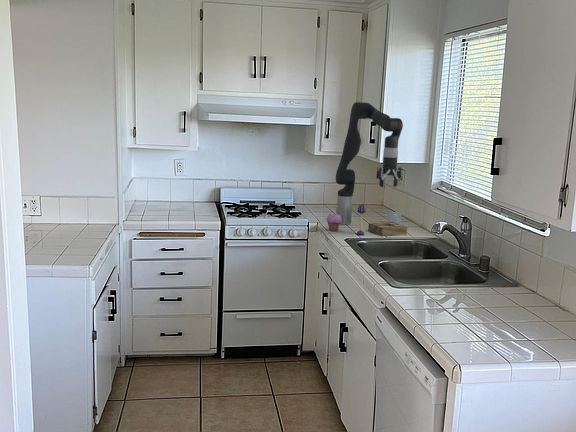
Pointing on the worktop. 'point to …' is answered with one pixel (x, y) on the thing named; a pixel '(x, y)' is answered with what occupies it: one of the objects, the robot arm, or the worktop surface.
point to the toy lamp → (361, 210)
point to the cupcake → (334, 221)
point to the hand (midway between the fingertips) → (388, 186)
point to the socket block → (387, 228)
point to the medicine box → (394, 217)
